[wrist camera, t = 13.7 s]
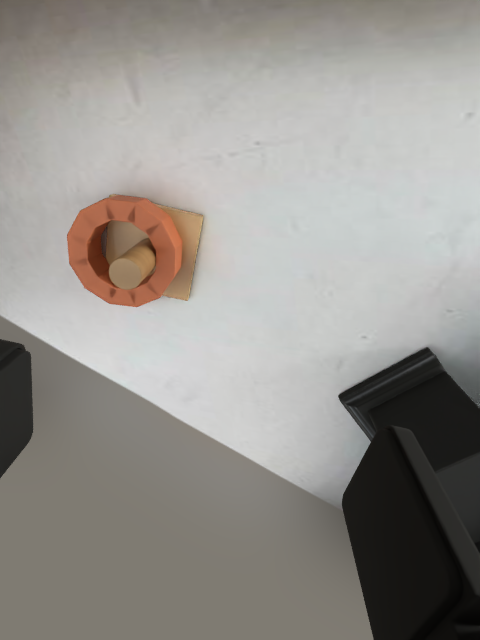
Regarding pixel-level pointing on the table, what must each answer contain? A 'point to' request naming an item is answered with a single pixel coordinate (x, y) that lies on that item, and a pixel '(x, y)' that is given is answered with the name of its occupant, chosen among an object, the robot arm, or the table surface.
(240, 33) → the table surface
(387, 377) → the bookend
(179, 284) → the ring stand
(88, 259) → the ring
